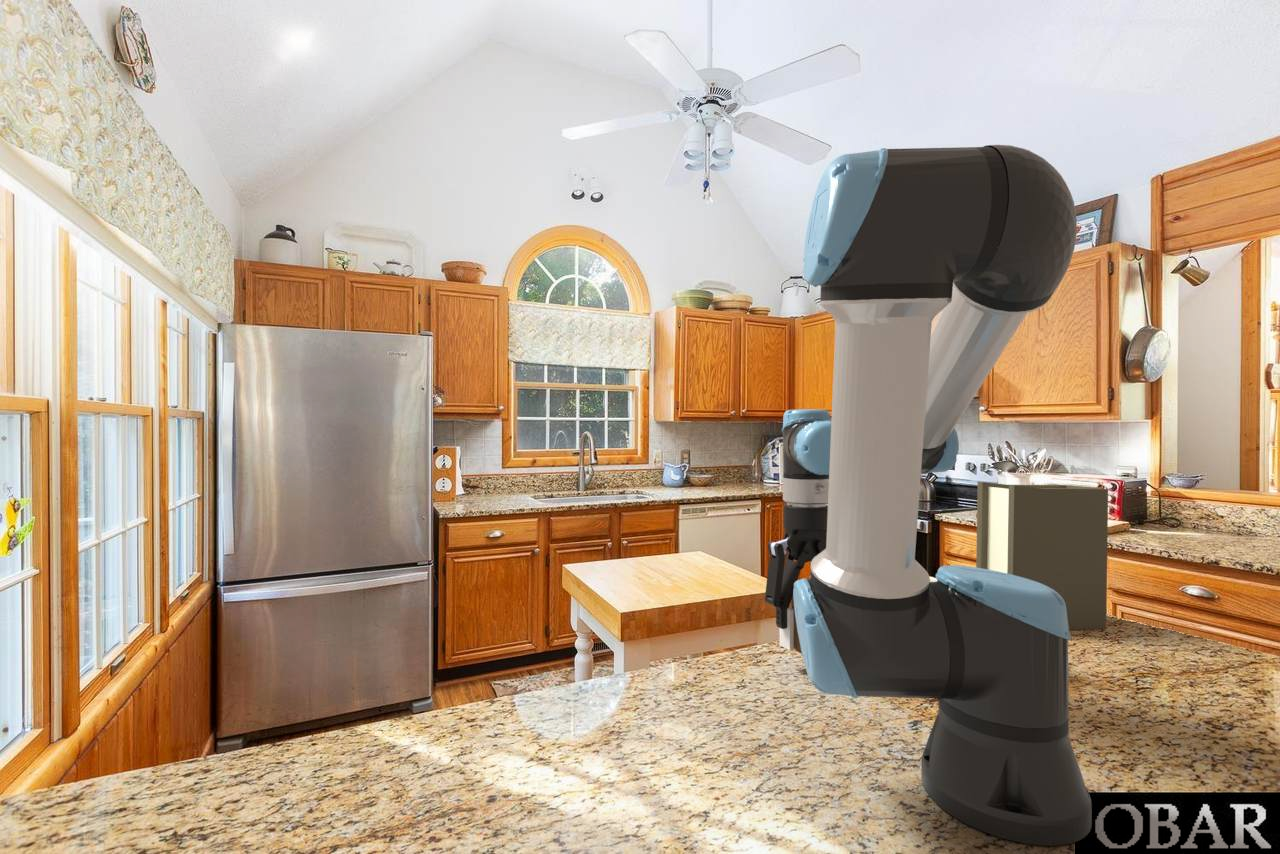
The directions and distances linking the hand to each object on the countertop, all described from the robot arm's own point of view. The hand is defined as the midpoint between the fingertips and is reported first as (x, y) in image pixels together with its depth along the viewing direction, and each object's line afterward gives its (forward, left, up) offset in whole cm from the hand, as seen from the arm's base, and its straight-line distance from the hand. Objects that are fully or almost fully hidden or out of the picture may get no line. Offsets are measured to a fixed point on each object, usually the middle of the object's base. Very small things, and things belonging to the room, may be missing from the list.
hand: (807, 643), depth 98 cm
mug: (0, 0, 0) cm, 1 cm away
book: (+56, -2, -4) cm, 56 cm away
